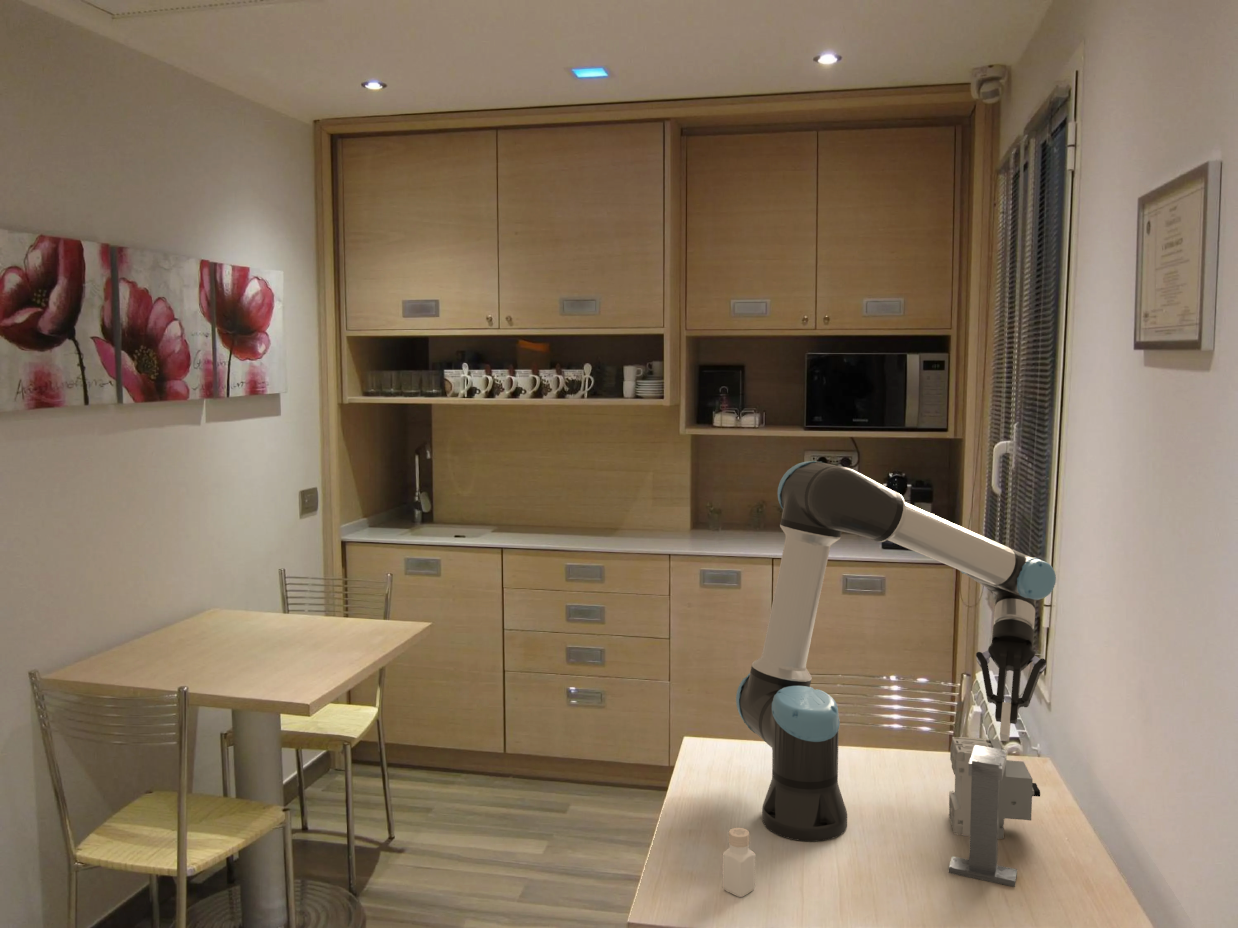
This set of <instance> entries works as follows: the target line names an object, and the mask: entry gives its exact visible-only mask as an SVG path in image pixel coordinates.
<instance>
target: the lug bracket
mask: <svg viewBox="0 0 1238 928" xmlns="http://www.w3.org/2000/svg"><path fill="white" fill-rule="evenodd" d="M1007 751H1008V750H1007V749H1003V748H1002V749H998V748H991V747H985V746H978V745H975V746H974V749H973V752H972V755H971V758H970V761H969V771H968V775H969V776H972V782H971V818H970V836H969V854H968V855H969V856H968V858H969V859H968V858H965V857H959V856H954V855H951V859H950V862H949V865H948V873H949V874H952V875H957V876H961V877H966V878H972V879H975V880H980V881H985V882H988V883H989V882H990V883H995V884H999V885H1002V886H1003V885H1005V886H1008V887H1009V886H1010V887H1014V888H1015V887H1016V883H1017V877H1018V869H1017V868H1013V867H1008V866H1004V865H998V859H999V858H998V857H999V855H998V850H999V848H998V847H999V839H998V825H999V793H1000V781H1002V778H1003V774H1004V769H1005V765H1006V760H1008V759H1007Z"/></svg>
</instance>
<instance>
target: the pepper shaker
mask: <svg viewBox="0 0 1238 928" xmlns="http://www.w3.org/2000/svg"><path fill="white" fill-rule="evenodd" d="M728 845H729V847H728V848H727V849H725V850H724V851H723V852H722V853H723V854H722V889H723V890H724V891H726V892H728V893H730V894H733V895H734V896H736V897H739V898H742V897H744V896H746V895H748V894H749V893H750V892H752V891H754V890H755V889H756V853H755V852H754V851H752V850H751V848H749V847H750V831H749V830H747V828H743V827H733V828H730V830H729V831H728Z"/></svg>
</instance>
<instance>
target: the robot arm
mask: <svg viewBox="0 0 1238 928" xmlns="http://www.w3.org/2000/svg"><path fill="white" fill-rule="evenodd" d="M777 500H778V503H779V505H780V506H779V507H781V509H782V514H781V520H780V524H779V527H780V528H781V531H783V533H784V535H785V540H784V544H783V549H782V554H781V558H780V559H781V560H780V565H779V569H778V574H777V580H776V584H775V588H774V594H773V600H772V603H771V608H770V614H769V619H768V624H767V628H766V633H765V638H764V643H763V649H762V653H761V656H760V657H759V658H757V659H755V660H754V661H752V664H751V667H750V672H749V673H748V674H747V676H746V677H744V678H742V680H741V682H740V683H739V685H738V687H737V690H736V696H735V703H736V704H735V705H736V708H737V712H738V714H739V717H740V718H741V720H743V722H744V724H745V725H746V726H747V728H748V729H749V730H750V731H752V732H753V733H754V734H756V735H757V736H758V737H759V738H761V739H762V740H763V741H764V742H765V743H766V744H767V745H768V746H769V747H770V748H771V752H772V754H771V755H772V756H771V757H772V758H771V759H772V760H771V761H772V762H771V763H772V764H771V765H772V766H771V768H772V769H771V770H772V774H771V780H770V784H769V786H768V789H767V792H766V794H765V798H764V801H763V803H762V808H761V809H762V810H761V820H762V823H763V825H764V827H766V828H767V829H768V830H769V831H770V832H772V833H774V834H776V835H779V836H780V837H784V838H786V839H790V840H796V841H802V842H804V841H805V842H820V841H829V840H831V839H836V838H837V837H839V836H841V835H842V834H844V833H845V832H846V830H847V827H848V811H847V808H846V805H845V802H844V799H843V796H842V795H843V794H842V792H841V789H840V786H839V782H838V780H839V779H838V777H839V774H838V773H839V739H840V738H839V737H840V736H839V735H840V734H839V733H840V731H839V730H840V725H841V723H840V716H839V708H838V707H839V706H838V704H837V701H836V700H835V699H834V698H833V697H832V696H831V695H830V694H829V693H827V692H825V691H823V690H821V689H814V687H811V683H812V679H813V678H812V675H811V674H810V672H809V670H808V669H807V661H808V658H809V652H810V646H811V642H812V637H813V633H814V627H815V623H816V617H817V614H818V613H817V612H818V609H819V605H820V604H819V602H820V598H821V593H822V590H823V585H824V580H825V576H826V570H827V569H826V568H827V564H828V559H829V555H830V550H831V546H832V545H833V544H835V543H836V542H837V541H839V540H841V537H842V533H843V532H844V533H848V534H852V535H857V536H860V537H864V538H867V539H870V540H872V541H874V542H876V543H884V542H886V541H889V542H891V543H894V544H896V545H899V546H900V547H903V548H905V549H908V550H910V551H912V552H915V553H917V554H920V555H922V556H925V557H927V558H929V559H931V560H935V561H937V562H939V563H942V564H944V565H947V566H949V567H950V568H953V569H956V570H958V571H959V572H961V574H962V575H966V576H967V577H969V578H970V579H972V580H974V581H975V582H977V583H978V584H980V585H982V586H983V587H985V588H986V589H987V590H989V591H990V592H992V593H994V594H995V603H994V604H995V605H994V614H993V627H992V634H991V635H992V636H991V644H990V645H989V646H988V649H987V650H986V651H984V652H981V651H977V652H976V653H975V656H976V662H977V663H978V665H979V667H980V668H981V672H982V678H983V684H984V688H985V690H984V691H985V695H986V700H987V702H988V703H989V704H994V705H995V713H994V717H995V718H994V719H995V721H996V722H999V723H1000V728H999V729H1000V730H999V737H1000V738H999V740H1000V741H1001V742H1002V741H1003V742H1010V735H1011V724H1012V725H1013V724H1014V725H1016V724H1017V723H1018V718H1019V717H1018V716H1019V715H1018V714H1019V709H1020V708H1029V706H1030V703H1031V700H1032V698H1033V696H1034V693H1035V690H1036V687H1037V684H1038V681H1039V679H1040V676H1041V675H1042V674H1043V673H1044V672H1045V671H1046V669H1047V661H1046V659H1045V658H1040V657H1038V656H1036V653H1035V650H1034V638H1035V634H1034V633H1035V630H1034V629H1035V622H1036V621H1035V620H1036V619H1035V618H1036V602H1037V601H1036V600H1038V601H1039V600H1042V599H1045V598H1046V597H1047V598H1048V596H1049V595H1050V594H1051V593H1052V592H1053V590H1054V589H1055V586H1056V583H1057V576H1056V575H1057V574H1056V571H1055V570H1054V568H1053V566H1052V565H1051V564H1050V563H1049V562H1047V561H1044V560H1042V559H1040V558H1038V557H1032V556H1029V555H1027V554H1024V553H1022V552H1020V551H1018V550H1015V549H1013V548H1010V547H1009V546H1006V545H1004V544H1001V543H999V542H998V541H995V540H993V539H990V538H988V537H985V536H984V535H982V534H979V533H976V532H974V531H972V530H970V529H967V528H965V527H963V526H961V525H958V524H957V523H953V522H951V521H949V520H947V519H945V518H942V517H940V516H939V515H935V514H934V513H931V512H929V511H926V510H924V509H921V508H919V507H917V506H915V505H913V504H911V503H908V502H906V501H905V499H904V497H903V495H902V494H900V493H899V492H897V491H896V490H892V489H891V488H888V487H886V486H884V485H883V484H881V483H879V482H877V481H876V480H874V479H872V478H870V477H868V476H866V475H864V474H863V473H861V472H858V471H857V470H855V469H852V468H850V467H846V466H839V465H835V464H830V463H826V462H823V461H815V460H814V461H802V462H800V463H797V464H794V465H793V466H792V467H791V468H789V469H787V471H785V473H784V474H783V476H782V477H781V479H780V480H779V484H778V487H777ZM990 658H991V660H992V661H993V662H994V664H995V665H996V667H997V668H998V675H997V676H998V677H997V686H996V687H997V688H996V693H995V694H994V691H993V685H992V679H991V676H990V675H991V674H990V670H989V669H990V668H989V664H990ZM1031 663H1032V666H1031V667H1032V669H1031V672H1030V675H1029V676H1028V677H1029V678H1028V679H1027V683H1026V685H1025V688H1024V691H1023V693H1022V696H1021V697H1020V690H1021V678H1022V671H1024V670H1025V669H1026V668H1027V667H1028V666H1029V665H1030V664H1031ZM1009 671H1011V672H1012V684H1011V694H1010V695H1011V697H1010V702H1007V701H1006V702H1005V693H1006V684H1007V674H1008V672H1009Z"/></svg>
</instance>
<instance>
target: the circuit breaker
mask: <svg viewBox="0 0 1238 928" xmlns="http://www.w3.org/2000/svg"><path fill="white" fill-rule="evenodd" d="M951 740H952V741H951V744H950V757H949V758H950V759H949V760H950V763H951V770H952V772H953V775H954V790H949V795H948V796H949V797H948V798H949V799H948V809H949V810H948V819H949V821H950V825H951V828H952V831H953V836H958V835H962V836H966V837H970V818H971V782H972V776H969V775H968V771H969V761H970V758H971V755H972V752H973V749H974V746H975V745H978V746H985V747H991V748H998V749H1003V747H1002V744H1001V742H1000V741H999V740H1000V739H998V738H996V739H995V738H979V737H964V736H958V737H955V736H952V737H951ZM1033 797H1041V790H1040V788H1039V787H1038V784H1037V783H1036V782H1034V781H1033V776H1032V775H1031V773H1030V771H1029V769H1028V767H1027V766H1026V763H1025V762H1024V761H1021V760H1010V759H1009V760H1008V759H1006V765H1005V769H1004V774H1003V778H1002V781H1000V793H999V825H998V840H999V839H1001V840H1004V834H1005V833H1004V831H1005V828H1004V825H1005V819H1006V820H1007V819H1008V820H1021V821H1022V820H1023V821H1032V814H1033V813H1032V811H1033V810H1032V808H1033V804H1032V803H1033Z"/></svg>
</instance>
